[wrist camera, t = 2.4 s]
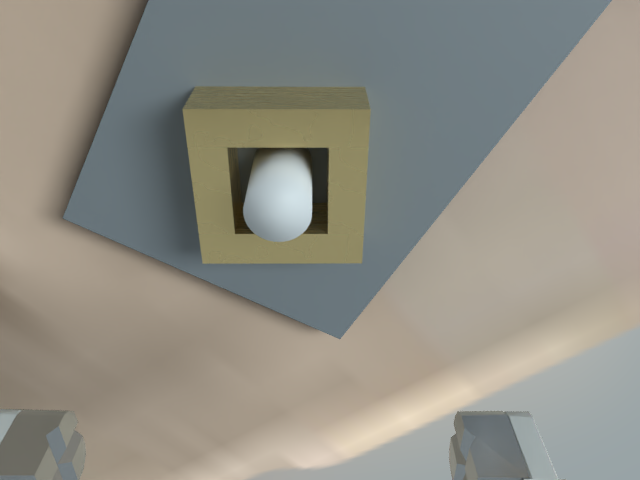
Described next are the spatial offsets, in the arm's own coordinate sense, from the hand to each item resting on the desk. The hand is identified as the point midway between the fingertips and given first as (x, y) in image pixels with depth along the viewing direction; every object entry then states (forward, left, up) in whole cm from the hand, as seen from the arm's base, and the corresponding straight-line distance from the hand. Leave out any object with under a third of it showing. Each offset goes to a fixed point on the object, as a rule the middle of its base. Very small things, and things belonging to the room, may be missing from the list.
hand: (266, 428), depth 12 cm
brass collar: (0, 0, -13) cm, 13 cm away
